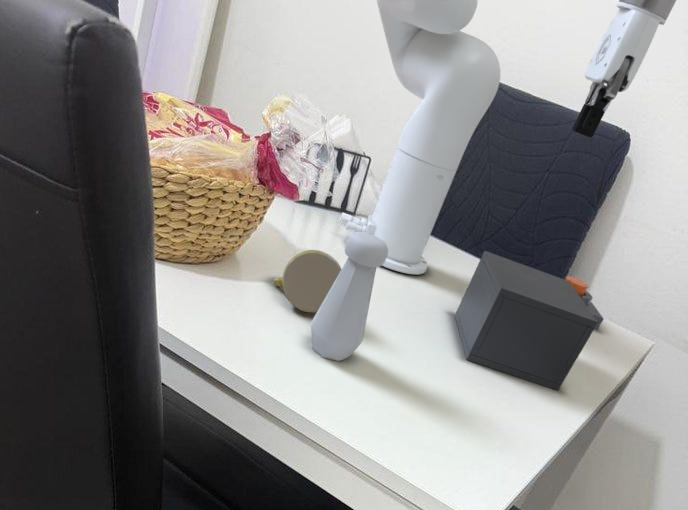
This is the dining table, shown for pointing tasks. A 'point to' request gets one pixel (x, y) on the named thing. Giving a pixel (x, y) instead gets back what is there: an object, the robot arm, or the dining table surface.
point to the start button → (577, 285)
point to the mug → (309, 279)
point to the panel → (592, 308)
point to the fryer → (523, 321)
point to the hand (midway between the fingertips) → (581, 133)
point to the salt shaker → (348, 299)
